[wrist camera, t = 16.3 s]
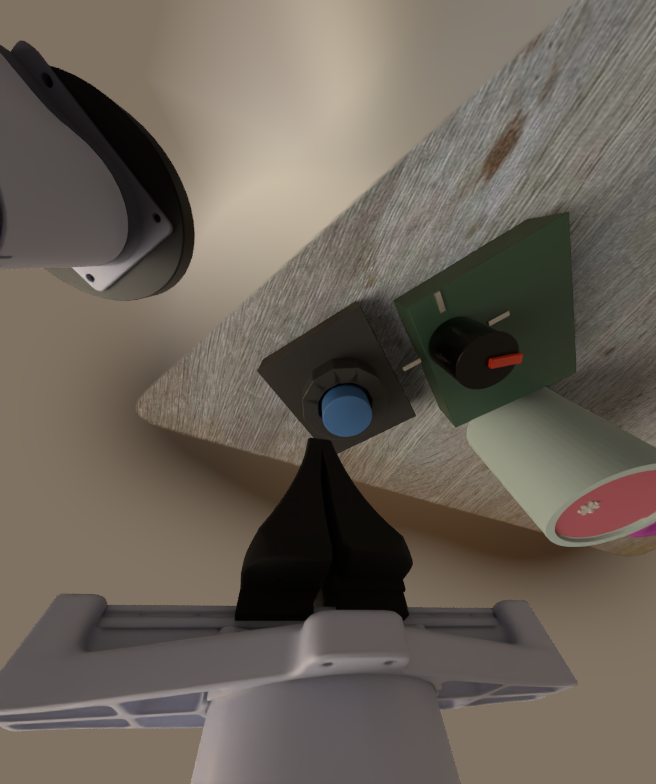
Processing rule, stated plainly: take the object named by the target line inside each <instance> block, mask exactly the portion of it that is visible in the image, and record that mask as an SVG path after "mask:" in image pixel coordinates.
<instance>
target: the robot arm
mask: <svg viewBox="0 0 656 784" xmlns="http://www.w3.org/2000/svg"><path fill="white" fill-rule="evenodd" d="M49 78H51V79H52V82H53V86H52V87H51V88H50V86H49V83H48V80H49ZM157 214H158V215H159V216H160V218H161V221H160V222H159V223H158V222H157V220H156V215H157ZM172 232H173V226H172V224H171V222H170V221H169V219H168V218H167V217H166V215H165V214H164V213H163V212H162V210H161V209H160V208H159V206H158V205H157V204H156V203H155V201H154V200H153V199H152V197H151V196H150V195H149V194H148V192H147V191H146V190H145V188H144V187H143V186H142V185H141V183H140V182H139V181H138V179H137V178H136V177H135V175H134V174H133V173H132V172H131V170H130V169H129V168H128V166H127V165H126V164H125V163H124V161H123V160H122V159H121V157H120V156H119V155H118V154H117V152H116V151H115V150H114V148H113V147H112V146H111V145H110V143H109V142H108V141H107V139H106V138H105V137H104V135H103V134H102V133H101V132H100V130H99V129H98V128H97V126H96V125H95V124H94V123H93V121H92V120H91V119H90V117H89V116H88V115H87V114H86V112H85V111H84V110H83V108H82V107H81V106H80V105H79V103H78V102H77V101H76V99H75V98H74V97H73V95H72V94H71V93H70V92H69V90H68V89H67V88H66V86H65V85H64V84H63V83H62V81H61V80H60V79H59V77H58V76H57V75H56V74H55V72H54V71H53V70H52V68H51V67H50V66H49V65H48V63H47V62H46V61H45V59H44V58H43V57H42V55H41V54H40V53H39V52H38V51H37V50H36V49H35V48H34V47H33V46H31V45H30V44H29V43H27V42H25V41H22V40H20V41H18V42H17V43H16V45H15V46H14V47H13V49H12V50H11V51H9V50H7V49H6V48H5V47H3V46H2V45H0V270H2V269H30V268H58V267H72V268H73V269H74V270H75V271H76V272H77V273H78V274H79V275H80V276H81V277H82V278H83V279H84V280H85V281H86V282H87V283H89V284H90V285H91V286H92V287H93V288H94V289H95V290H97V291H105V290H107V289H108V288H109V287H111V286H112V285H113V284H114V283H115V282H116V281H117V280H119V279H120V278H121V277H122V276H123V275H124V274H126V273H127V272H128V271H129V270H130V269H131V268H132V267H134V266H135V265H136V264H137V263H138V262H139V261H141V260H142V259H143V258H144V257H145V256H146V255H147V254H149V253H150V252H151V251H152V250H153V249H154V248H156V247H157V246H158V245H159V244H160V243H161V242H162V241H164V240H165V239H166V238H167V237H168V236H169V235H171V234H172ZM91 275H92V276H93V277H94V279H95V280H92V278H91ZM412 565H413V562H412V558H411V555H410V552H409V549H408V546H407V544H406V542H405V540H404V537H403V536H402V535H400V534H399V533H398V532H397V531H396V530H395V529H394V528H393V527H391V526H390V525H389V524H388V523H387V522H386V521H385V520H384V519H383V518H382V517H381V516H380V515H379V514H378V513H377V512H376V511H375V510H374V509H373V507H372V506H371V505H370V504H369V503H368V502H367V501H366V500H365V498H364V497H363V496H362V494H361V493H360V492H359V490H358V489H357V488H356V486H355V485H354V483H353V482H352V480H351V478H350V477H349V475H348V474H347V472H346V470H345V468H344V467H343V465H342V463H341V461H340V459H339V457H338V455H337V453H336V451H335V449H334V446H333V444H332V442H331V440H325V439H317V438H309V439H308V442H307V447H306V451H305V456H304V459H303V462H302V464H301V466H300V469H299V471H298V473H297V475H296V477H295V479H294V480H293V482H292V484H291V486H290V487H289V489H288V491H287V492H286V494H285V495H284V497H283V498H282V500H281V501H280V503H279V504H278V505H277V507H276V508H275V509H274V511H273V512H272V513H271V515H270V516H269V517H268V518H267V519H266V521H265V522H264V523H263V524H262V525H261V526H260V528H259V529H258V531H257V533H256V535H255V536H254V538H253V540H252V542H251V544H250V546H249V548H248V550H247V552H246V555H245V558H244V562H243V567H242V571H241V588H240V593H239V597H238V602H237V606H177V605H175V606H174V605H107V601H106V599H105V598H104V597H103V596H100V595H96V594H60V595H58V596H57V597H56V598H55V599H54V601H53V602H52V603H51V605H50V606H49V607H48V609H47V610H46V611H45V613H44V614H43V615H42V616H41V618H40V619H39V621H38V622H37V623H36V624H35V626H34V627H33V628H32V630H31V631H30V632H29V634H28V635H27V636H26V638H25V639H24V640H23V642H22V643H21V644H20V646H19V647H18V648H17V650H16V651H15V652H14V654H13V655H12V656H11V658H10V659H9V660H8V661H7V663H6V664H5V665H4V667H3V668H2V670H1V671H0V727H1V728H4V729H7V730H10V731H32V730H53V729H82V728H83V729H89V728H203V733H202V737H201V741H200V745H199V750H198V754H197V758H196V763H195V767H194V771H193V776H192V780H191V784H461V783H460V779H459V776H458V772H457V769H456V765H455V762H454V758H453V755H452V751H451V747H450V744H449V740H448V737H447V733H446V730H445V726H444V723H443V719H442V716H441V713H440V710H447V709H454V708H463V707H471V706H479V705H488V704H496V703H506V702H517V701H530V700H538V699H541V698H544V697H547V696H549V695H552V694H555V693H557V692H560V691H563V690H566V689H568V688H571V687H574V686H576V685H577V684H578V683H577V680H576V679H575V677H574V675H573V674H572V672H571V671H570V669H569V667H568V666H567V664H566V663H565V661H564V660H563V658H562V656H561V655H560V653H559V652H558V650H557V648H556V647H555V645H554V643H553V642H552V640H551V639H550V637H549V635H548V634H547V632H546V631H545V629H544V627H543V626H542V624H541V623H540V621H539V620H538V618H537V616H536V615H535V613H534V611H533V610H532V608H531V607H530V605H529V603H528V602H527V601H525V600H503V601H500V602H498V603H497V604H495V605H494V607H493V608H423V607H422V608H421V607H415V608H414V607H413V608H412V607H407V604H406V600H405V597H404V593H403V592H405V585H404V582H403V579H404V578H405V576H406V575H407V573H408V572H409V571H410V569H411V567H412Z"/></svg>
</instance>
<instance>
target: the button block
mask: <svg viewBox="0 0 656 784" xmlns="http://www.w3.org/2000/svg"><path fill="white" fill-rule="evenodd" d="M257 371H258V373H259V374H260V375H261V376H262V377H263V378H264V380H265V381H266V382H267V383H268V384H269V386H270V387H271V388H272V389H273V390H274V391H275V393H276V394H277V395H278V396H279V397H280V399H281V400H282V401H283V402H284V403H285V404H286V406H287V407H288V408H289V409H290V410H291V412H292V413H293V414H294V415H295V416H296V417H297V419H298V420H299V421H300V422H301V423H302V424H303V426H304V427H305V428H306V429H307V430H308V432H309V433H310V434H311V435H312V436H313V437H314V438H317V439H325V440H331V442H332V444H333V446H334V449H335V451H336V453H337V454H338V453H340V452H342V451H344V450H346V449H348V448H350V447H352V446H354V445H357V444H359V443H361V442H363V441H365V440H367V439H369V438H371V437H373V436H375V435H377V434H379V433H381V432H383V431H386V430H388V429H390V428H392V427H394V426H396V425H398V424H400V423H402V422H404V421H406V420H408V419H410V418H413V417H415V416H416V415H415V413H414V411H413V409H412V407H411V405H410V403H409V401H408V399H407V397H406V395H405V393H404V391H403V389H402V387H401V385H400V383H399V381H398V379H397V377H396V375H395V373H394V371H393V369H392V367H391V365H390V363H389V361H388V359H387V357H386V355H385V353H384V351H383V349H382V347H381V345H380V344H379V342H378V340H377V338H376V336H375V334H374V332H373V330H372V328H371V326H370V324H369V322H368V320H367V318H366V316H365V314H364V312H363V310H362V308H361V306H360V305H359V304H358V303H357V302H354V303H352V304H351V305H349V306H347V307H346V308H344V309H343V310H341V311H340V312H338V313H336V314H335V315H333V316H332V317H330V318H328V319H327V320H325V321H324V322H322V323H321V324H319V325H317V326H316V327H314V328H313V329H311V330H309V331H308V332H306V333H305V334H303V335H302V336H300V337H298V338H297V339H295V340H294V341H292V342H290V343H289V344H287V345H286V346H284V347H282V348H281V349H279V350H278V351H276V352H275V353H273V354H271V355H270V356H268V357H267V358H265V359H263V360H262V362H261V364H260V366H259V368H258V370H257ZM339 385H353V386H356V387H358V388H360V389H361V390H362V391H363V392H364V393H365V394H366V396H367V398H368V401H369V403H370V406H371V409H372V420H371V422H370V424H369V426H368V427H367V428H366V429H365V430H364V431H362V432H361V433H359V434H357V435H354V436H349V437H342V436H337V435H335V434H333V433H331V432H330V431H328V430H327V428H326V427H325V426H324V423H323V419H322V401H323V398H324V396H325V395H326V393H327V392H328V391H330V390H331V389H332V388H334V387H336V386H339Z"/></svg>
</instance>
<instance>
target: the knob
mask: <svg viewBox="0 0 656 784" xmlns="http://www.w3.org/2000/svg"><path fill="white" fill-rule="evenodd" d="M428 350H429V355H430V357H431V359H432V360H433V361H434V362H435V363H436V364H438V365H439V366H440V367H441V368H442V369H443V370H445V371H446V372H447V373H448V374H449V375H451V376H452V377H453V378H454V379H455V380H456V381H458V382H459V383H460V384H461V385H462V386H464V387H466V388H468V389H474V390H480V389H485V388H489V387H491V386H493V385H495V384H497V383H499V382H500V381H502V380H503V379H504V378H505V377H506V376H507V375H508V374H509V373H510V372H511V371H512V370H513V368H514V366H515V365H516V364H519V363H521V362H522V358H523V354H522V353H519V345H518V342H517V341H516V339H515V338H514V337H513V336H512V335H511V334H509V333H506V332H504V331H501V330H498V329H496V328H493V327H491V326H488V325H485V324H483V323H480V322H477V321H475V320H472V319H470V318H467V317H455V318H452V319H449V320H447V321H445V322H444V323H442V324H441V325H440V326H439V327H438V328H437V329H436V330H435V331H434V333H433V334H432V336H431V338H430V341H429V346H428Z"/></svg>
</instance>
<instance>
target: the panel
mask: <svg viewBox="0 0 656 784" xmlns="http://www.w3.org/2000/svg"><path fill="white" fill-rule="evenodd" d="M394 304H395V306H396V308H397V310H398V313H399V315H400V317H401V320H402V322H403V324H404V327H405V329H406V331H407V334H408V336H409V338H410V341H411V343H412V345H413V348H414V350H415V352H416V355H417V357H418V359H416V360H414V361H412V362H410V363H409V364H407V365H405V366H403V367H402V369H403V371H406V370H408V369H410V368H412V367H414V366H416V365H417V364H419V363H420V364H421V366H422V369H423V371H424V373H425V376H426V378H427V380H428V382H429V385H430V387H431V389H432V392H433V394H434V396H435V399H436V401H437V403H438V406H439V408H440V410H441V411H442V412H443V413H444V414H445V416H446V417H447V418H448V419H449V420H450V421H451V423H452V424H453V425H454V426H455V427H458V426H460V425H462V424H464V423H467V422H469V421H471V420H473V419H475V418H478V417H480V416H482V415H484V414H486V413H489V412H491V411H493V410H495V409H497V408H500V407H502V406H504V405H506V404H509V403H511V402H513V401H515V400H517V399H520V398H522V397H524V396H526V395H528V394H531V393H533V392H535V391H537V390H539V389H542V388H544V387H546V386H548V385H550V384H553V383H555V382H557V381H559V380H561V379H564V378H566V377H568V376H570V375H572V374H575V373H576V372H577V371H576V350H575V329H574V308H573V287H572V265H571V244H570V223H569V212H565V213H560V214H554V215H549V216H543V217H538V218H532V219H527V220H526V221H524V222H522V223H521V224H519V225H517V226H516V227H514V228H512V229H511V230H509V231H507V232H506V233H504V234H502V235H501V236H499V237H498V238H496V239H494V240H493V241H491V242H489V243H488V244H486V245H484V246H483V247H481V248H479V249H478V250H476V251H475V252H473V253H471V254H470V255H468V256H466V257H465V258H463V259H461V260H460V261H458V262H456V263H455V264H453V265H451V266H450V267H448V268H447V269H445V270H443V271H442V272H440V273H438V274H437V275H435V276H433V277H432V278H430V279H428V280H427V281H425V282H424V283H422V284H420V285H419V286H417V287H415V288H414V289H412V290H410V291H409V292H407V293H405V294H404V295H402V296H400V297H399V298H397V299H396V300H394ZM455 317H467V318H470V319H472V320H475V321H477V322H480V323H483V324H485V325H488V326H491V327H493V328H496V329H498V330H501V331H504V332H506V333H509V334H511V335H512V336H513V337H514V338H515V339H516V341H517V342H518V345H519V353H522V354H523V358H522V362H521V363H519V364H516V365H515V366H514V368H513V370H512V371H511V372H510V373H509V374H508V375H507V376H506V377H505V378H504V379H503V380H502V381H500V382H499V383H497V384H495V385H493V386H491V387H489V388H485V389H480V390H474V389H468V388H466V387H464V386H462V385H461V384H460V383H459V382H458V381H456V380H455V379H454V378H453V377H452V376H451V375H449V374H448V373H447V372H446V371H445V370H443V369H442V368H441V367H440V366H439V365H438V364H436V363H435V362H434V361H433V360H432V359H431V357H430V355H429V350H428V346H429V341H430V338H431V336H432V334H433V333H434V331H435V330H436V329H437V328H438V327H439V326H440V325H441V324H442V323H444V322H445V321H447V320H449V319H452V318H455Z"/></svg>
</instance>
